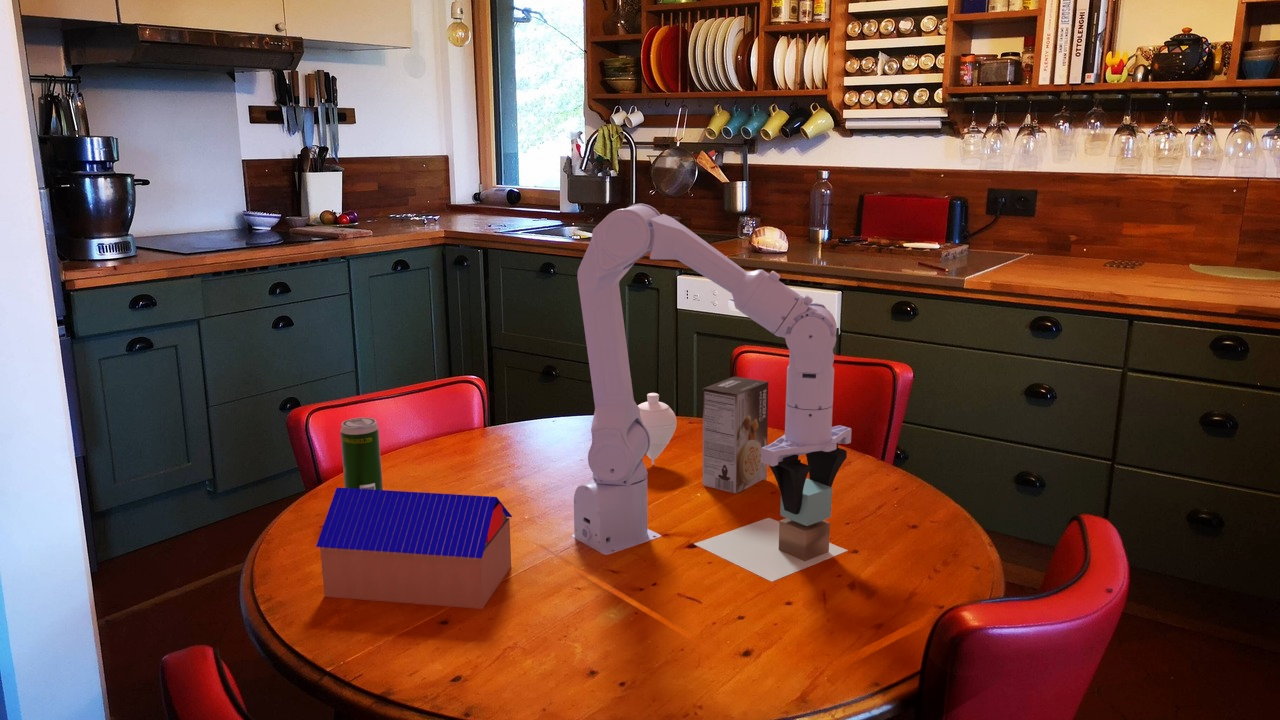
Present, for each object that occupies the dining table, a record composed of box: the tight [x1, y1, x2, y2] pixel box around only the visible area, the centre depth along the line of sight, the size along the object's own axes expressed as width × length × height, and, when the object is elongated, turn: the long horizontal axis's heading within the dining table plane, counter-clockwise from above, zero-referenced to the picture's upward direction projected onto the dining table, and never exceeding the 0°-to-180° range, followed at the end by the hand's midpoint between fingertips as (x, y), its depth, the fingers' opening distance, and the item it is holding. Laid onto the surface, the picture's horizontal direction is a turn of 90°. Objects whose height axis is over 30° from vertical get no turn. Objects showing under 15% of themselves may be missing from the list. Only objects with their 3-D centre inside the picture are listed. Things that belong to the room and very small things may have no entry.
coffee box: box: [702, 376, 769, 494], centre depth 147 cm, size 9×6×16 cm
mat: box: [693, 517, 849, 583], centre depth 125 cm, size 14×14×1 cm
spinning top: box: [637, 392, 678, 466], centre depth 157 cm, size 8×8×12 cm
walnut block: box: [778, 517, 831, 561], centre depth 123 cm, size 4×4×4 cm
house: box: [315, 487, 513, 610], centre depth 116 cm, size 12×20×12 cm, turn 81°
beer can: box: [339, 417, 384, 490], centre depth 142 cm, size 5×5×12 cm
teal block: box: [779, 477, 833, 526], centre depth 122 cm, size 4×4×4 cm
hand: (805, 507), depth 123 cm, fingers closed on teal block, 4 cm apart
